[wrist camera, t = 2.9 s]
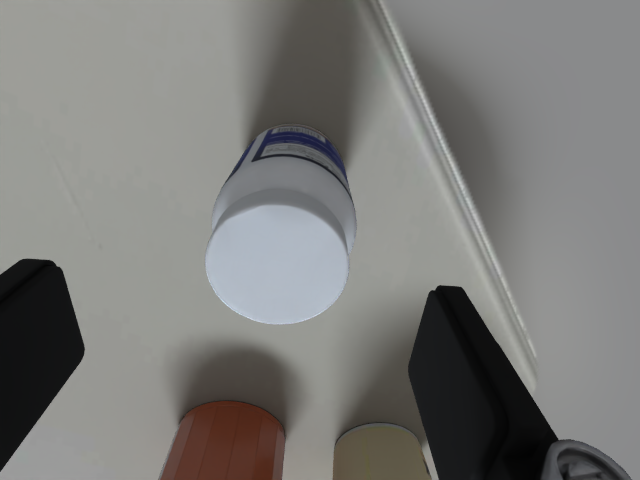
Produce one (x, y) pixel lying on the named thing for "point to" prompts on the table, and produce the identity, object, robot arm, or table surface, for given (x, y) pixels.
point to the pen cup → (226, 444)
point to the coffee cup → (379, 454)
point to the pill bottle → (283, 228)
